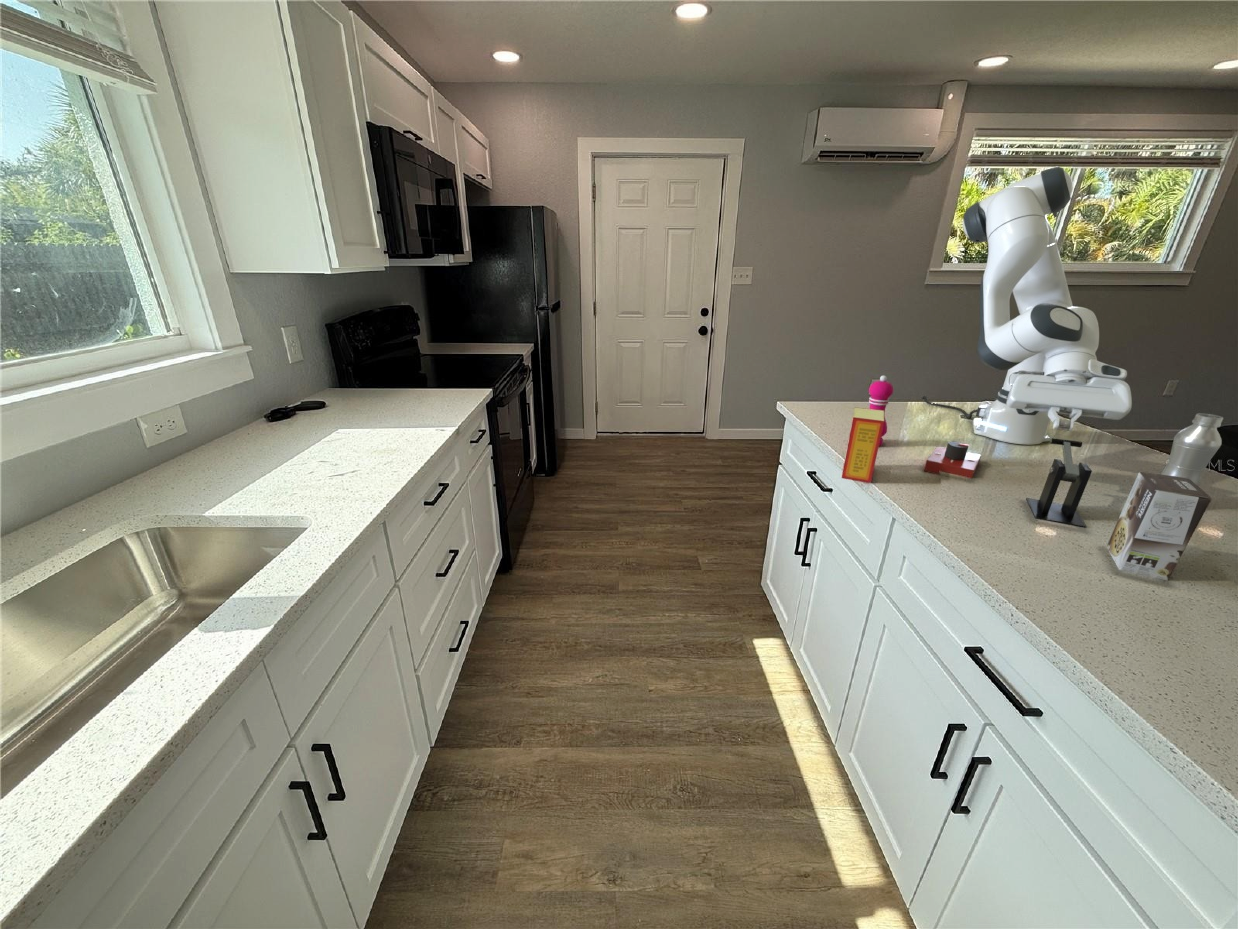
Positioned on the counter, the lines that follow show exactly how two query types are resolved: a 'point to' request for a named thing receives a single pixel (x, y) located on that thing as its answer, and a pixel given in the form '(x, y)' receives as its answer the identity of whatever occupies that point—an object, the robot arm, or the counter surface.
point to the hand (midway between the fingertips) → (1062, 429)
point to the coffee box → (1156, 524)
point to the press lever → (1068, 459)
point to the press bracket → (1067, 510)
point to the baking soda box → (863, 444)
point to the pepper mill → (880, 398)
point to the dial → (956, 450)
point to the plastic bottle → (1194, 448)
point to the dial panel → (952, 463)
